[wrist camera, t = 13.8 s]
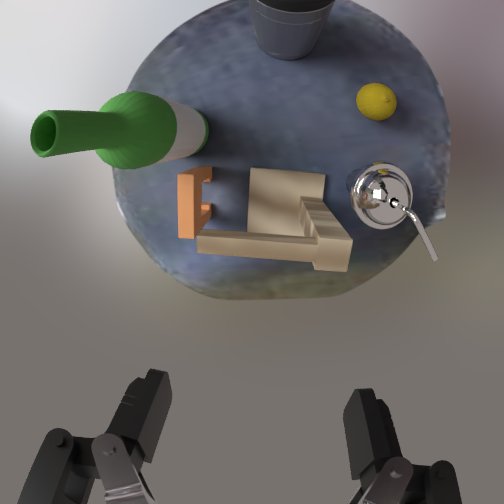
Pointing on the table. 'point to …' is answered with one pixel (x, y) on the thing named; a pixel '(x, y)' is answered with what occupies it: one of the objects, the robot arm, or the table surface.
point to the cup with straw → (384, 198)
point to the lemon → (376, 101)
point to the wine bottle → (123, 131)
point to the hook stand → (285, 223)
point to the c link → (192, 201)
